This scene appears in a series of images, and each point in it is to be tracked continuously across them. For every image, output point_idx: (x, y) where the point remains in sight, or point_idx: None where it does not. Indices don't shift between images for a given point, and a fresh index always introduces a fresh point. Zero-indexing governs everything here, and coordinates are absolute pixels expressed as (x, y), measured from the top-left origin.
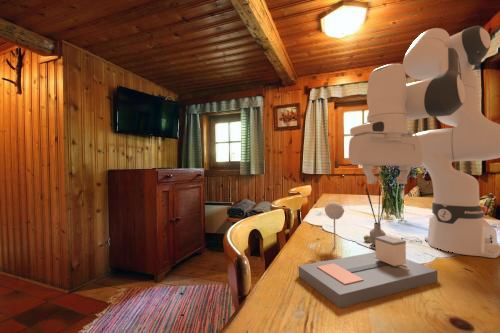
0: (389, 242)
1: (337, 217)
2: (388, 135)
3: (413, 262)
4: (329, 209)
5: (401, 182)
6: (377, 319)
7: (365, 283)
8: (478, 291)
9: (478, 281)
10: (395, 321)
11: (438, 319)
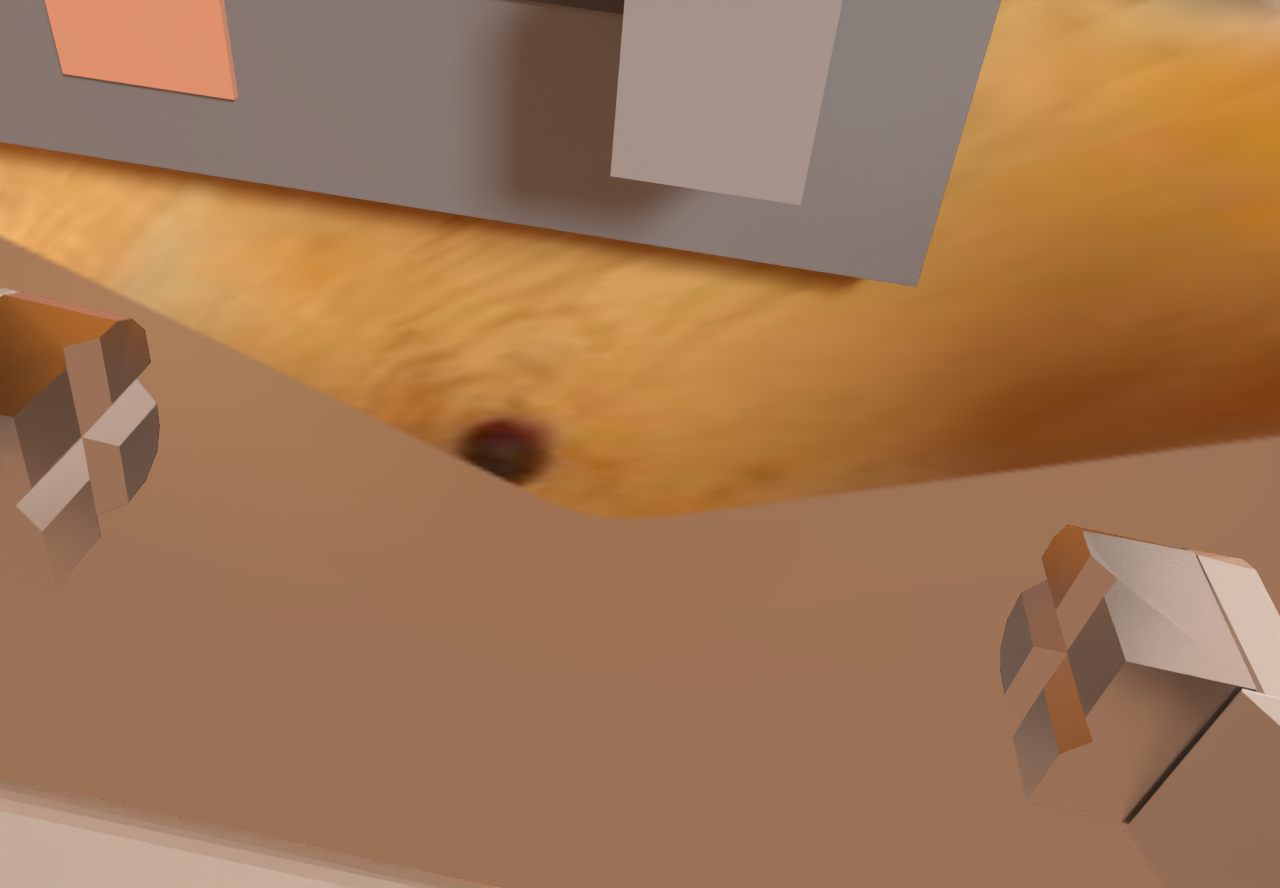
0: (615, 124)
1: None
2: None
3: (949, 106)
4: None
5: (1008, 649)
6: (170, 263)
7: (221, 130)
8: (960, 420)
9: (1156, 385)
10: (242, 312)
11: (444, 399)
